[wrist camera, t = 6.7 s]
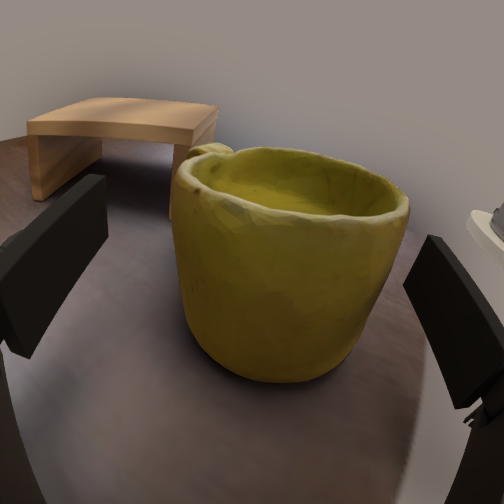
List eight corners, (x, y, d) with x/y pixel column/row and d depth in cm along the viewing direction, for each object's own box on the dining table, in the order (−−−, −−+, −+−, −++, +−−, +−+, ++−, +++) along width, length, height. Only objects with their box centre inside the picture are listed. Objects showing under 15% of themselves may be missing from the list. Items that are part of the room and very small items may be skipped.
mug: (428, 334, 14) (454, 138, 9) (256, 451, 11) (160, 248, 6) (301, 244, 24) (280, 112, 19) (175, 301, 21) (121, 162, 16)
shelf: (209, 169, 33) (219, 106, 29) (184, 223, 23) (193, 129, 19) (93, 156, 32) (95, 97, 28) (32, 200, 22) (26, 120, 18)
